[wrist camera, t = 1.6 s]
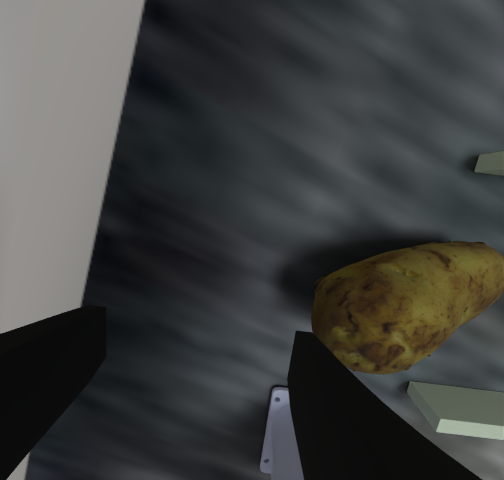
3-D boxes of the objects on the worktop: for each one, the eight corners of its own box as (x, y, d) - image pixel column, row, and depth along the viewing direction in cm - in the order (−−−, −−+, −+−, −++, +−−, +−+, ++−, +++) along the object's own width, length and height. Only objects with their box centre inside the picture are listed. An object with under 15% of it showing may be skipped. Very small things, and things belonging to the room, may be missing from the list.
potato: (442, 333, 20) (566, 426, 12) (291, 316, 20) (315, 399, 12) (472, 237, 18) (638, 271, 10) (306, 219, 18) (345, 240, 10)
